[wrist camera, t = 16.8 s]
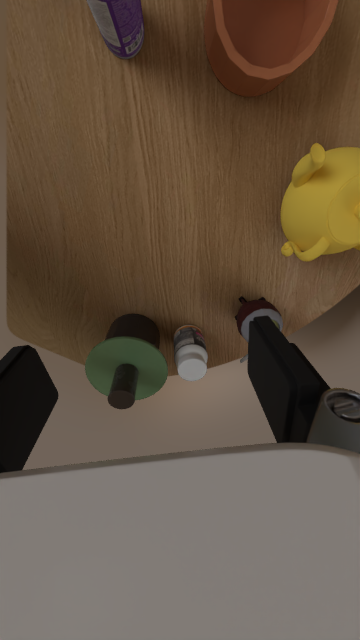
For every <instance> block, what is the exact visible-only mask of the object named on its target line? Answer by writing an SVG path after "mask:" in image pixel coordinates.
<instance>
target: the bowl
mask: <svg viewBox="0 0 360 640" xmlns="http://www.w3.org/2000/svg"><path fill="white" fill-rule="evenodd" d="M338 1H339V0H207V6H206V12H205V22H204V38H205V47H206V52H207V56H208V59H209V63H210V65H211V67H212V70H213V72H214V73H215V75H216V77H217V78H218V80H219V81H220V82H221V83H222V85H223V86H224V87H225V88H227V89H228V90H229V91H231V92H233V93H235V94H237V95H240V96H245V97H255V96H259V95H262V94H265V93H267V92H269V91H271V90H273V89H274V88H275V87H276V86H277V85H279V84H280V83H281V82H282V81H283V80H284V79H285V78H287V77H288V76H289V75H290V74H291V73H292V72H293V71H294V70H296V69H297V68H298V67H299V66H300V65H301V64H302V63H303V62H305V61H306V60H307V59H308V58H309V57H310V56H311V55H312V54H313V53H314V52H315V50H316V48H317V47H318V45H319V43H320V42H321V40H322V38H323V37H324V35H325V34H326V32H327V30H328V29H329V27H330V25H331V23H332V20H333V17H334V14H335V10H336V7H337V4H338Z"/></svg>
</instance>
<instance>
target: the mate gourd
mask: <svg viewBox="0 0 360 640" xmlns="http://www.w3.org/2000/svg"><path fill="white" fill-rule="evenodd" d="M239 300H240V302H241V303H242V304H243V305H242V307H241V308H240V310H239V312H238V315H237V316H236V317H235V319H236V320H237V322H236V323H237V327H238V331H239V333H240V334H241V335H242V336H243V337H244V339H245V340H246V341H247V342H248V340H249V322H250V321H253V318H254V317H258V316H266V315H268V316H269V317H270V318H271V320H272V321H273V322H274V323H275V325H276V326H277V327H278V329H279V330H280V331H281V330H282V327H283V322H282V317H281V315H280V313H279V312H278V310H277V309H276V308H275V306H273V305H272V304H271V303H269V302H267V301H266V300H265V298H263V297H262V298H260V299H259V300H253V301H249V302H247V301H246V300H245V299H244V298H243V297H242V296H241V297H240V298H239ZM246 359H248V354H247V355H246V356H244V357H243V358H242V359H241V360H240V362H241V363H242V362H243V361H245V360H246Z"/></svg>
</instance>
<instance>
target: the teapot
mask: <svg viewBox="0 0 360 640" xmlns="http://www.w3.org/2000/svg"><path fill="white" fill-rule="evenodd" d="M281 225H282V229H283V232H284V234H285V236H286V238H287V239H288V242H286V243H285V244H284V245H283V247H282V249H281V252H282V254H283V255H284V256H290V255H291V254H292V253H293V252H294V253H295V255H296V256H297V257H298V258H299V259H300V260H302V261H311V260H313V259H315V258H317V257H319V256H320V255H326V254H334V253H339V252H342V251H345V250H348V249H351V248H355V249H357V250H359V251H360V148H356V147H340V148H334V149H330V150H328V151H325V150H324V148H323V147H322V146H321V145H320V144H318V143H315V144H313V145H312V147H311V150H310V153H309V154H307V155H305V156H304V157H303V158H301V160H300V161H299V162H298V163H297V165H296V166H295V168H294V170H293V173H292V181H291V183H290V184H289V186H288V188H287V190H286V192H285V195H284V198H283V201H282V205H281ZM301 251H304V252H301Z"/></svg>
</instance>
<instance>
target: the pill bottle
mask: <svg viewBox="0 0 360 640" xmlns="http://www.w3.org/2000/svg"><path fill="white" fill-rule="evenodd" d="M207 359H208V356H207V351H206V346H205V342H204V337H203V334H202V331H201V330H200V329H199V328H198V327H196V326H194V325H184V326H182V327H180V328H179V329H178V330H177V331H176V332H175V334H174V360H175V364H176V366H177V367H178V374H179V375H180V376H181V378H183V379H184V380H187V381H196V380H199V379H201V378H202V377H204V375H205V374H206V371H207V365H206V363H207Z"/></svg>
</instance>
